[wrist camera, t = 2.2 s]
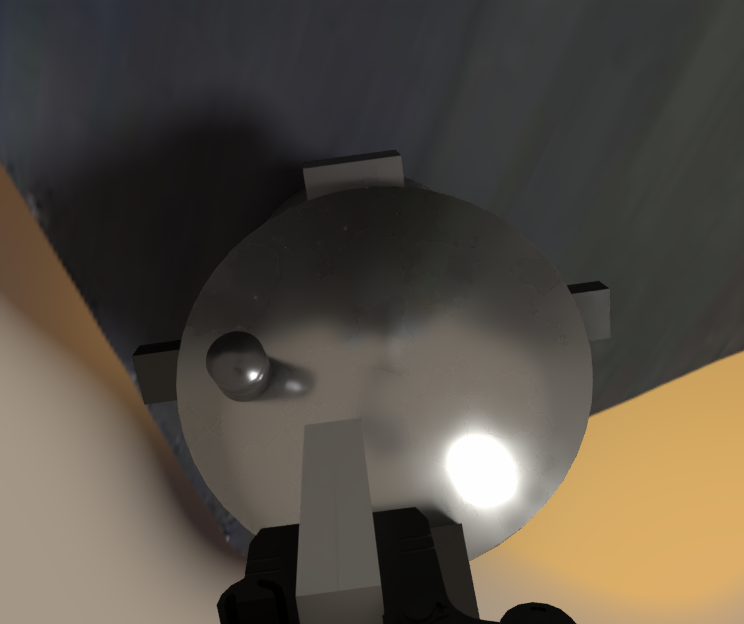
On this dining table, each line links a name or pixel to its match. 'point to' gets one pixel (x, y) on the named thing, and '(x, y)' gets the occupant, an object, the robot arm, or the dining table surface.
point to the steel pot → (326, 178)
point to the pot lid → (390, 366)
